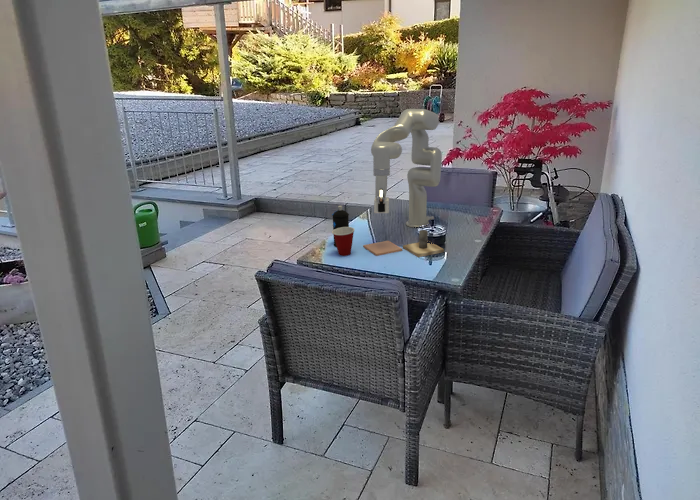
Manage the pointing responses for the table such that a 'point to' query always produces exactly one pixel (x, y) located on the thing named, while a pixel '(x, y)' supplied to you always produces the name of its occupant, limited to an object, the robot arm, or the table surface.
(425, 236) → the post stand
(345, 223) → the aerosol can
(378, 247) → the tile
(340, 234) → the plastic cup
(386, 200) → the cream rectangular prism
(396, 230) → the table surface
